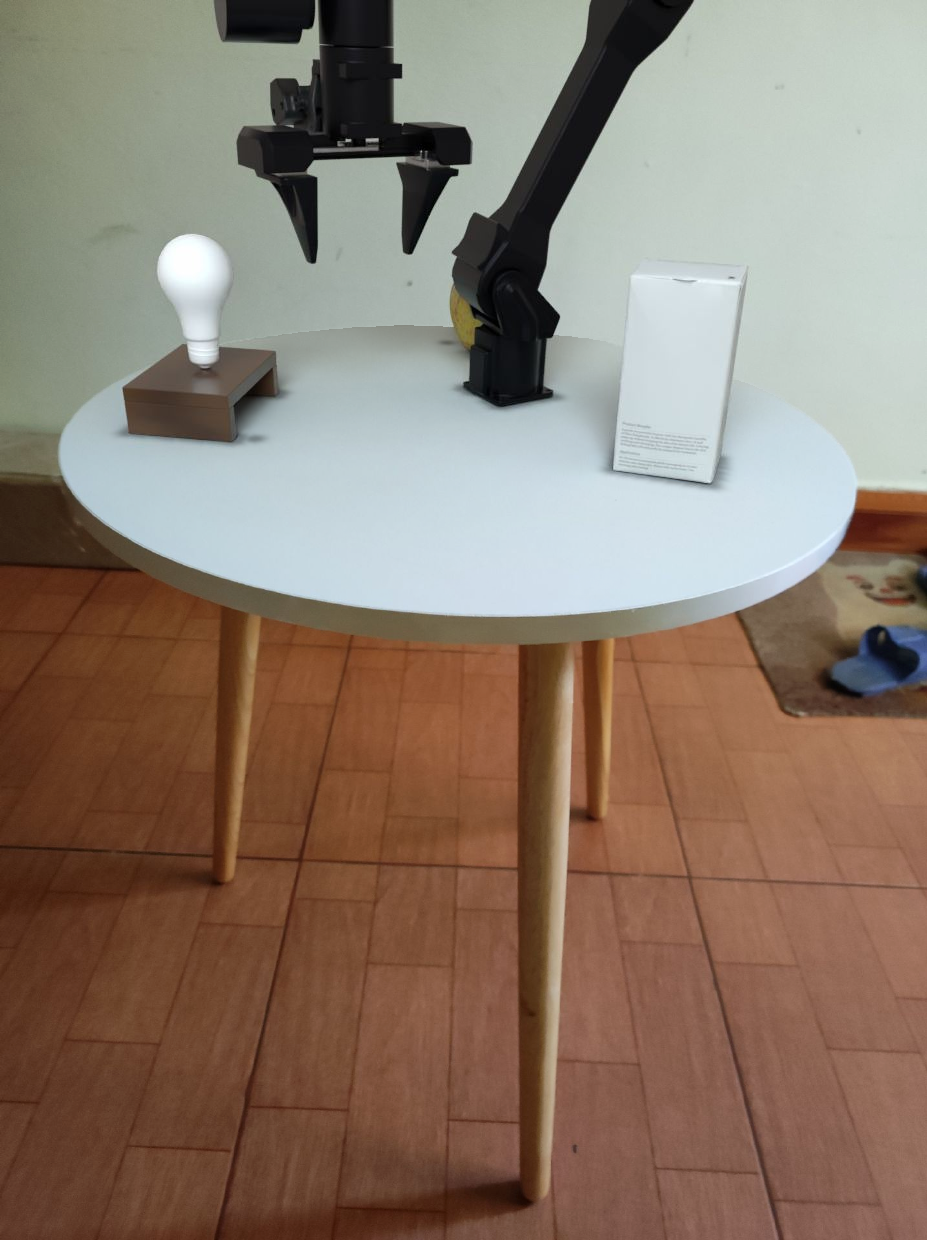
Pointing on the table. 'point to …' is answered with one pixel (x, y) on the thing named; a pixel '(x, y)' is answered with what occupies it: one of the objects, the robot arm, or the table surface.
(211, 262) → the lightbulb
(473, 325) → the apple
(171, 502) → the table surface
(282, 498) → the table surface
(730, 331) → the cosmetic box
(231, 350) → the shelf
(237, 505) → the table surface
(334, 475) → the table surface
